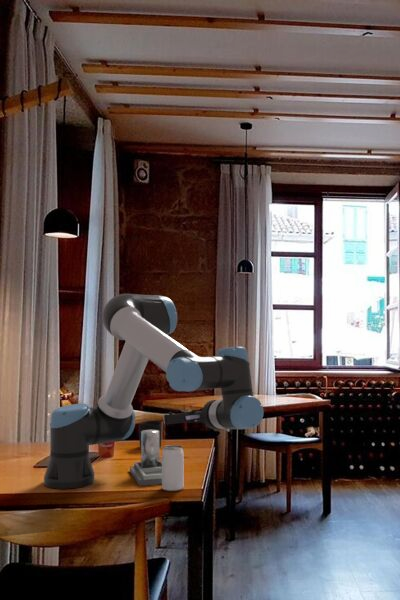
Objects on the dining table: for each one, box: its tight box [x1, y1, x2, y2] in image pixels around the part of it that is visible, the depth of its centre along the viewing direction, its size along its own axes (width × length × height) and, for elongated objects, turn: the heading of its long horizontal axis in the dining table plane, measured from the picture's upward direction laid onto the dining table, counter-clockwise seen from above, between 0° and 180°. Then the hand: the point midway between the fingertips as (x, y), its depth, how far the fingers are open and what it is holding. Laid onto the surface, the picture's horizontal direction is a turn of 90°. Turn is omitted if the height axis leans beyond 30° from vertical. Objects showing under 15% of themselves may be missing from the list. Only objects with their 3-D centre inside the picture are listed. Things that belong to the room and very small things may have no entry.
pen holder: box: [138, 420, 163, 449], centre depth 217 cm, size 9×9×10 cm
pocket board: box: [129, 460, 162, 487], centre depth 170 cm, size 12×18×3 cm, turn 16°
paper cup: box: [97, 442, 116, 459], centre depth 201 cm, size 8×8×14 cm
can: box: [161, 444, 185, 492], centre depth 157 cm, size 6×6×12 cm
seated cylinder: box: [140, 430, 160, 468], centre depth 175 cm, size 6×6×12 cm
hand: (186, 416), depth 154 cm, fingers open, 13 cm apart
